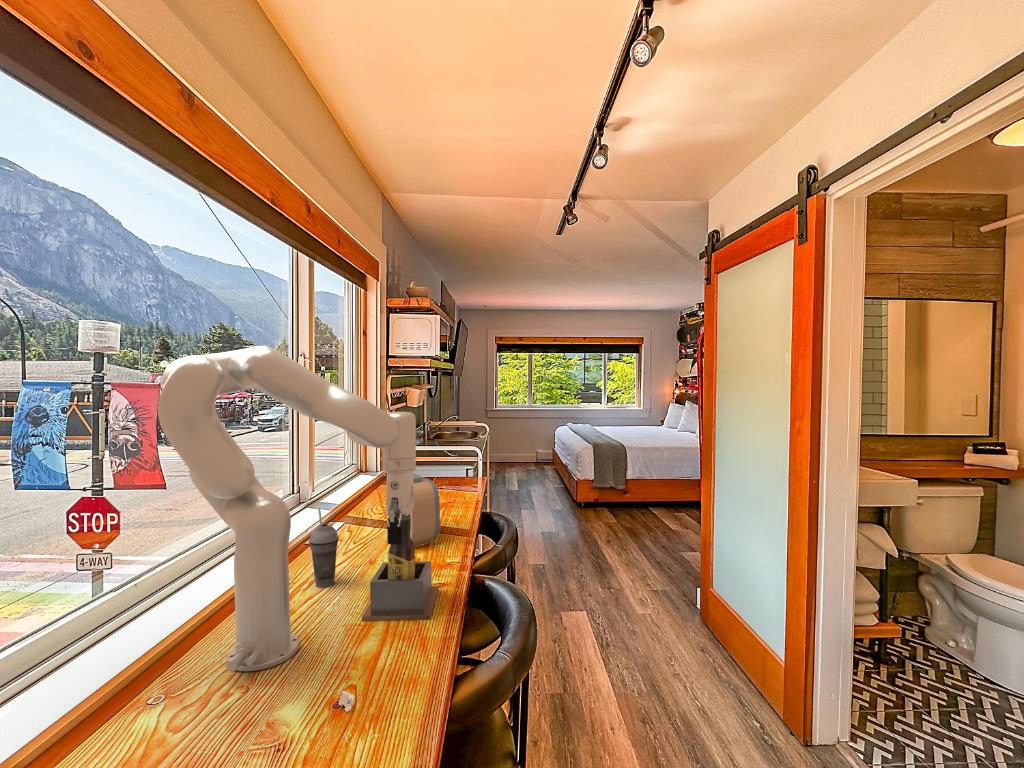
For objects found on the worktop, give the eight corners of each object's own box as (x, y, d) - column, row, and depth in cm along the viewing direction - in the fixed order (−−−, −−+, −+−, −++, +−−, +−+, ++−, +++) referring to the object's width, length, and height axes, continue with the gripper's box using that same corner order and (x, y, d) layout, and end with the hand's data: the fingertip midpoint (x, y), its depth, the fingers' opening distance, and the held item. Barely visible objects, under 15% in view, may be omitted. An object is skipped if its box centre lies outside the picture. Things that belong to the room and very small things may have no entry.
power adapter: (336, 711, 82) (336, 691, 82) (349, 702, 84) (349, 683, 84) (348, 717, 80) (348, 698, 80) (361, 708, 82) (361, 689, 82)
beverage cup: (329, 591, 127) (328, 512, 127) (304, 589, 129) (302, 511, 128) (345, 579, 134) (343, 505, 134) (320, 577, 136) (318, 504, 136)
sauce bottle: (382, 601, 119) (381, 517, 118) (405, 592, 123) (403, 511, 123) (399, 609, 114) (397, 522, 114) (421, 600, 119) (419, 516, 118)
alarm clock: (441, 546, 160) (439, 478, 160) (413, 552, 155) (411, 482, 154) (415, 530, 177) (413, 469, 177) (388, 535, 172) (387, 472, 171)
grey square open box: (429, 619, 111) (429, 583, 111) (361, 620, 111) (361, 585, 111) (439, 590, 126) (438, 558, 126) (379, 591, 126) (378, 560, 126)
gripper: (408, 470, 110) (408, 549, 110) (421, 459, 127) (421, 527, 127) (373, 470, 110) (373, 549, 110) (391, 459, 127) (391, 527, 127)
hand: (399, 537), depth 118 cm, fingers open, 9 cm apart
